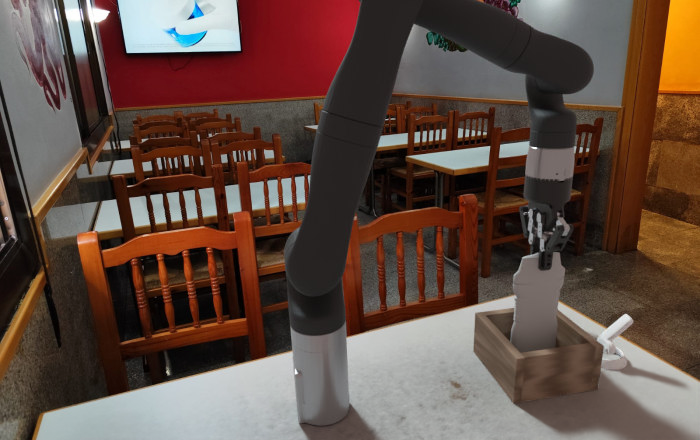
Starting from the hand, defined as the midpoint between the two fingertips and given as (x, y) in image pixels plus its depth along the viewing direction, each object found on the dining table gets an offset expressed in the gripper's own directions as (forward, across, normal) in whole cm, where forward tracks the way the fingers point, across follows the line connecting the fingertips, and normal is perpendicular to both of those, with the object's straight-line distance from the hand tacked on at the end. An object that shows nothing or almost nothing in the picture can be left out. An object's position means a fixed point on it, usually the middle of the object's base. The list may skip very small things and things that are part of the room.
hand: (540, 266), depth 86 cm
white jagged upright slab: (+19, 0, 0) cm, 19 cm away
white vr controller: (+22, 0, +16) cm, 27 cm away
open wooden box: (+22, 0, 0) cm, 22 cm away
